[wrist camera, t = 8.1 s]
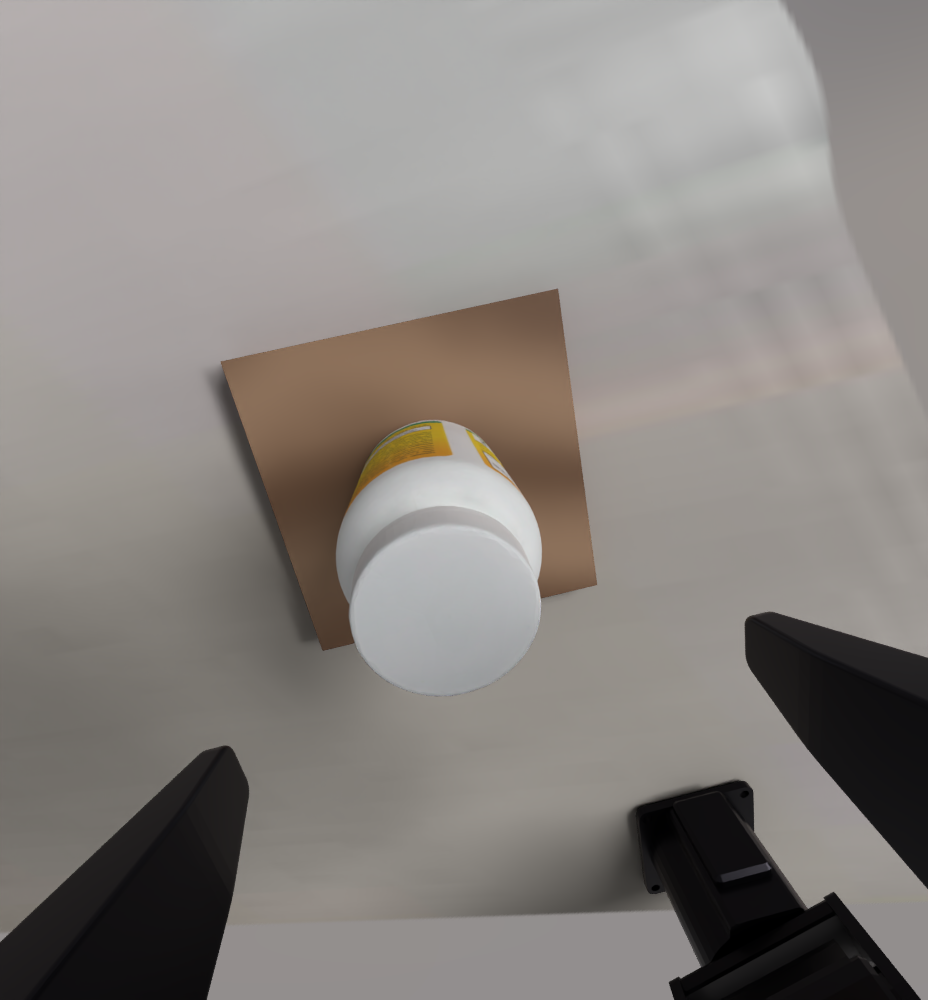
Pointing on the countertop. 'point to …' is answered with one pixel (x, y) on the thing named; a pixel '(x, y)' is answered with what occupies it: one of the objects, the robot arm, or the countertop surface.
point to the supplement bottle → (439, 562)
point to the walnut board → (407, 399)
